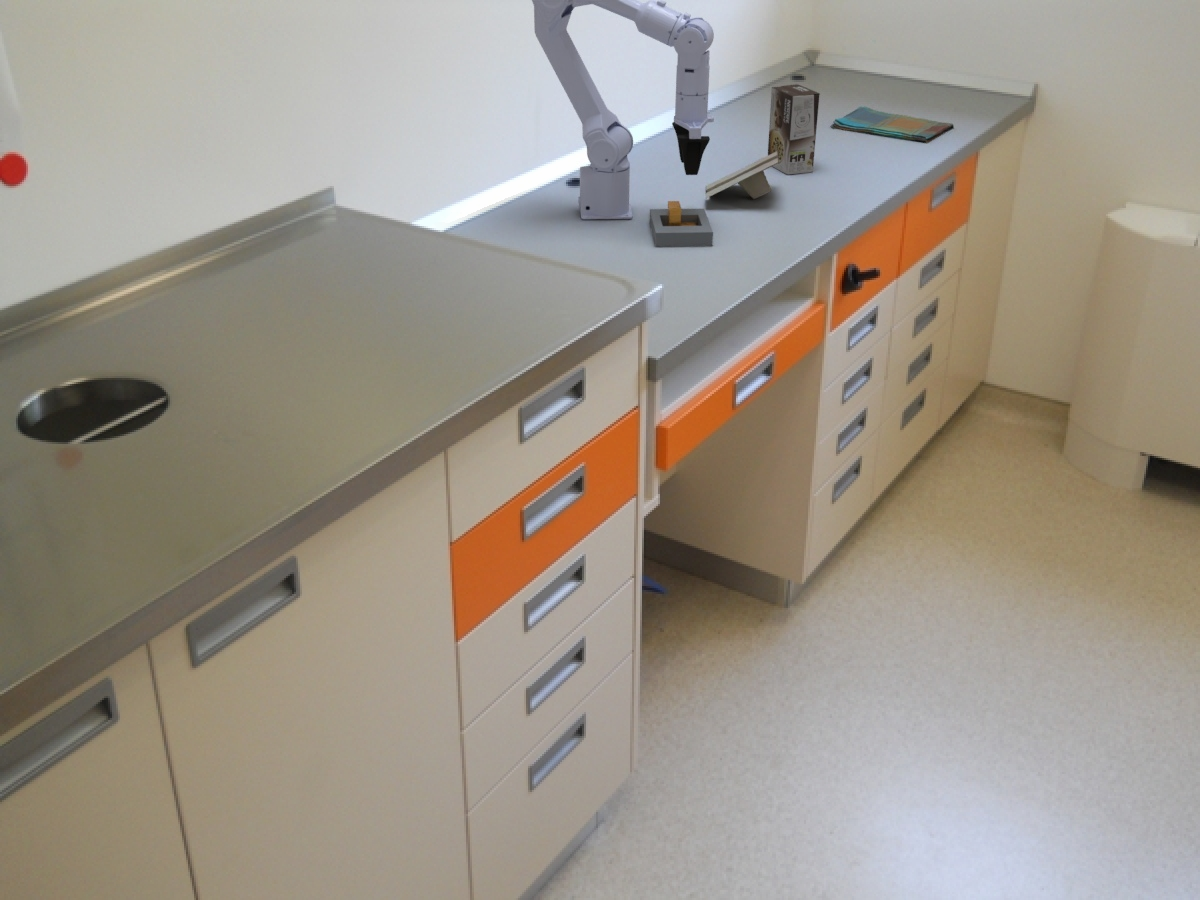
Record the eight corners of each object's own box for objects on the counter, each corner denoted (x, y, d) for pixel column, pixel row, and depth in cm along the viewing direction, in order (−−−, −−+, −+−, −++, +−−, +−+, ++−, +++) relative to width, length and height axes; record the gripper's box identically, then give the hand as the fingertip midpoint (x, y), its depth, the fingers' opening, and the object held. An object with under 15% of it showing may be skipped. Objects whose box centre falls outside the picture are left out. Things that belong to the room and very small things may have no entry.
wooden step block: (668, 238, 227) (669, 208, 224) (666, 230, 230) (667, 201, 228) (696, 237, 227) (698, 208, 224) (694, 230, 230) (695, 200, 228)
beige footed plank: (732, 234, 241) (796, 182, 236) (703, 198, 239) (767, 146, 235) (733, 219, 256) (792, 171, 252) (705, 185, 254) (765, 136, 250)
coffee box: (814, 172, 262) (821, 93, 254) (786, 175, 260) (792, 95, 252) (792, 160, 269) (798, 83, 262) (765, 163, 267) (770, 85, 260)
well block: (655, 246, 223) (655, 232, 221) (649, 222, 234) (649, 209, 233) (712, 245, 223) (713, 232, 222) (703, 221, 234) (704, 208, 233)
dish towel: (860, 115, 305) (861, 104, 304) (954, 130, 294) (955, 119, 292) (829, 130, 293) (830, 119, 292) (925, 146, 281) (927, 135, 280)
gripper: (720, 102, 217) (716, 179, 224) (709, 82, 230) (706, 156, 236) (678, 102, 217) (676, 180, 223) (670, 82, 230) (668, 156, 236)
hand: (689, 168), depth 230 cm, fingers open, 7 cm apart
